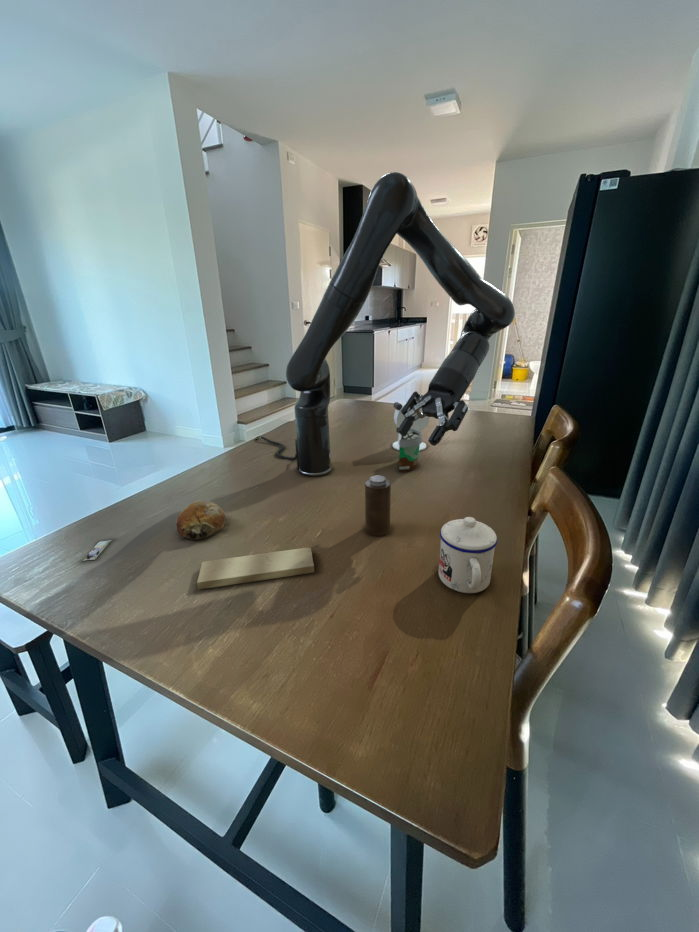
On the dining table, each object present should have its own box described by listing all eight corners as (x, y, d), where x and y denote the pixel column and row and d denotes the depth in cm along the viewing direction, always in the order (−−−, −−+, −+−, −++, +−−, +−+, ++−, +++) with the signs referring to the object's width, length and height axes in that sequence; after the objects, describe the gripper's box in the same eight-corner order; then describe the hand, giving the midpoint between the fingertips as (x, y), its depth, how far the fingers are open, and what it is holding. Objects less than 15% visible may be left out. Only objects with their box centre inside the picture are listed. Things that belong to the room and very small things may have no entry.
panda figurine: (421, 439, 136) (423, 397, 130) (433, 449, 126) (435, 405, 120) (388, 442, 134) (389, 399, 128) (398, 453, 124) (399, 407, 118)
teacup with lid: (433, 560, 71) (437, 505, 66) (483, 561, 70) (490, 506, 66) (444, 607, 60) (449, 545, 55) (503, 609, 59) (513, 546, 55)
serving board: (198, 589, 65) (196, 582, 65) (203, 568, 71) (202, 561, 70) (314, 572, 69) (313, 565, 68) (311, 553, 74) (310, 546, 74)
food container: (420, 475, 107) (422, 441, 103) (398, 473, 108) (399, 440, 105) (421, 459, 118) (423, 428, 115) (401, 458, 120) (402, 427, 116)
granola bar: (100, 543, 80) (99, 539, 80) (112, 542, 80) (110, 538, 80) (83, 562, 74) (81, 558, 74) (95, 561, 74) (94, 557, 74)
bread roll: (232, 538, 87) (237, 503, 87) (202, 544, 77) (207, 504, 77) (197, 531, 90) (201, 497, 90) (163, 536, 80) (168, 498, 80)
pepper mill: (360, 530, 81) (359, 479, 77) (375, 520, 85) (375, 471, 80) (380, 539, 78) (380, 486, 74) (394, 528, 82) (395, 477, 77)
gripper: (421, 363, 86) (383, 422, 83) (476, 369, 75) (434, 437, 73) (435, 383, 91) (400, 440, 88) (488, 392, 80) (450, 456, 78)
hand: (415, 438), depth 81 cm, fingers open, 8 cm apart
